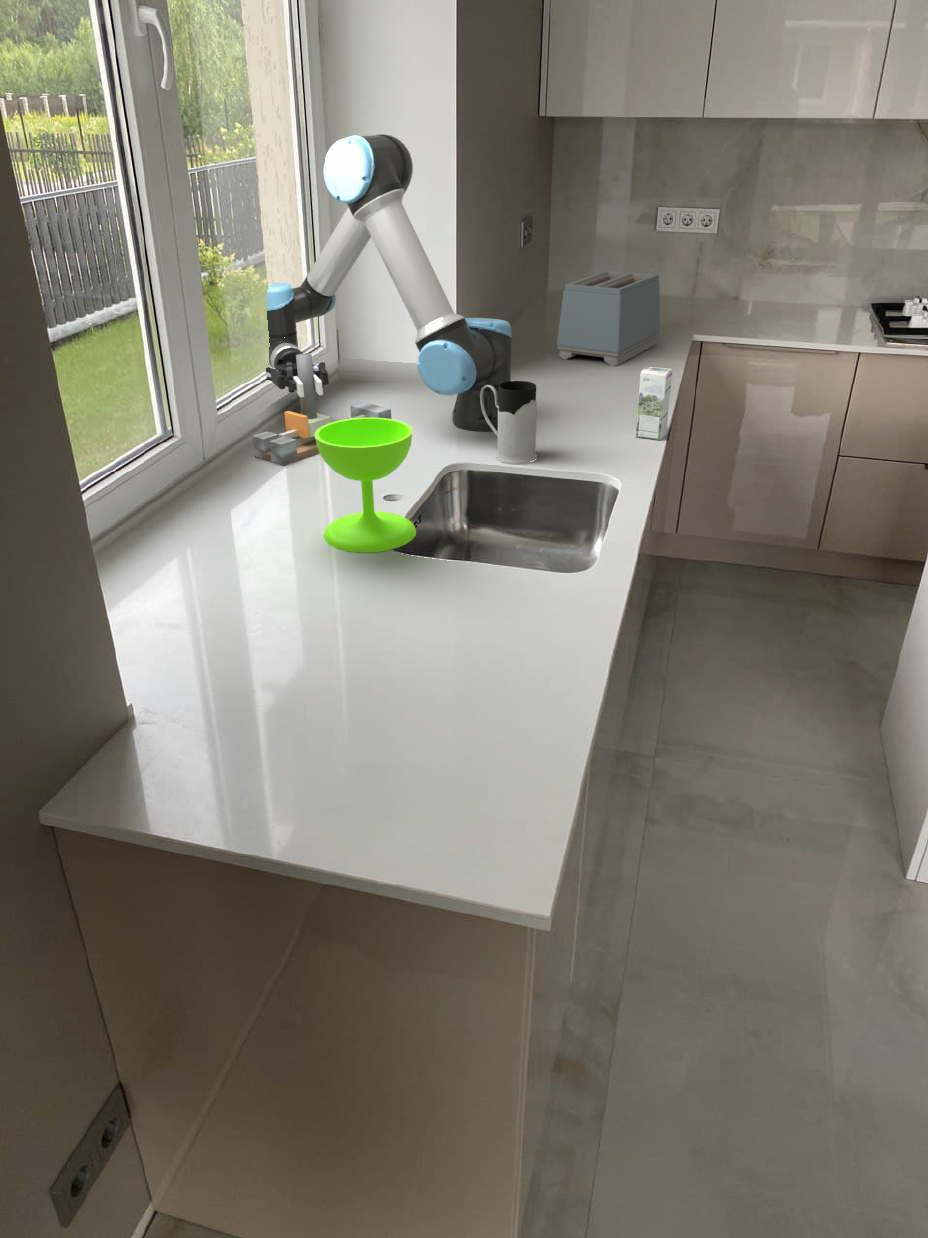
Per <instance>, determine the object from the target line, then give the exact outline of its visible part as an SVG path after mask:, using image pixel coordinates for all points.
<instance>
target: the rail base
mask: <svg viewBox="0 0 928 1238" xmlns="http://www.w3.org/2000/svg"><path fill="white" fill-rule="evenodd" d="M349 407H350V418H349V419H353V418H387V419H392V409H391V408H389V407H385V406H380V405H378V404H377V405H376V404H373V403H368V402H364V401H362V402H358V403H356V404H352V405H349ZM252 442H253V452H254V457H255V456H256V457H255V458H257V457H259V458H258V459H261V460H263V461H267V462H269V463H270V462H271V463H274V464H277V465H278V466H279V465H280V466H282V467H283V466H284V467H285V466H286V465H290V464H292V463H295V462H299V461H301V460H304V459H306V458H310V457H312V456H314V455H315V456H316V455H319V454H320V452H319V450H318V448H317V444H316V440H315V436H314V437H308V438H302V437H299V436H297V437H294V438H288V437H285V436H284V437H281V438H279V434H277V433H274V432H272V431H271V432H270V431H264V432H261V433H258V434H254V435H252Z"/></svg>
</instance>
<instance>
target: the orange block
mask: <svg viewBox="0 0 928 1238" xmlns="http://www.w3.org/2000/svg"><path fill="white" fill-rule="evenodd" d="M284 423H285V432H281V433H279V434H278V436H279V438H281V437H284V436H285V437H288V438H294V437H297V436H299V437H302V438H308V437H310V436H309V426H308V416H306V415H302V414H301V413H297V412H293V411H291V410H287V411H284Z"/></svg>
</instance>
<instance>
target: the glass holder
mask: <svg viewBox="0 0 928 1238" xmlns="http://www.w3.org/2000/svg"><path fill="white" fill-rule="evenodd" d="M486 387H489V388H491V389H492V391H493V392H494V395H495V405H496V407H497V408H498V409H499V410H498V430H496V429H495V428H494V426H493V425H492V424H491V422H490V420H489V419H488V416H487V414H486V411H485V408H484V402H483V391H484V389H485V388H486ZM480 403H481V408H482V412H483V415H484V417H485V420H486V421H487V423H488V425H489V426H490V427H491V429H492V430H493V431H492V432H493V433H494V435H495V436H496V437H497V450H496V451H497V452H496V454H495V457H496V458H495V460H496V459H497V460H496V461H497V462H499V461H500V463H502V464H505V465H506V464H508V465H525V464H524V463H528V462H530V461H533V460H535V459H536V458H537V457H538V454H537V451H536V450H537V449H536V448H537V447H536V446H537V445H536V443H537V439H536V438H537V411H538V410H537V405H538V404H537V385H536V383H533V382H531V381H526V380H525V381H524V380H511V381H509V382H504V383H501V384H500V385H499V404H498V394H497V391H496V389H495V388H494V387H493V386H491V385H486V386H484V387H483V388H482V389H481V392H480ZM537 459H538V458H537ZM528 464H529V463H528Z"/></svg>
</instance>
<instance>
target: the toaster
mask: <svg viewBox="0 0 928 1238" xmlns="http://www.w3.org/2000/svg"><path fill="white" fill-rule="evenodd" d="M659 276H660V274H657V273H645V272H635V271H634V272H632V271H620V270H610V269H607V270H604V271H600V272H598V273H594V274H592V275H589V276H586V277H583V278H580V279H577V280H575V281H572V282H568V283H565V285H564V290H563V294H562V300H561V307H560V308H561V309H560V315H559V316H560V317H559V324H558V331H557V332H558V333H557V339H556V340H557V341H556V345H557V350H558V351H559V353H558V354H559V355H558V357H559V356H560V357H564V358H570V359H572V358H574V356H575V357H576V355H577V356H579V355H581V356H588V357H590V356H591V357H598V358H603V361H604V362H605V363H606V364H607V365H608V366H610V365H614V366H613V367H617V366H619V365H621V364H623V363H625V362H627V361H628V359H629V360H631V359H632V358H634V357H636V356H638V355H640V354H641V353H643V352H646V351H647V350H649V349H651V348H653V347H655V346H656V345H657V339H658V338H659V336H660V331H661V323H660V322H661V319H660V317H661V315H660V313H661V310H660V309H661V308H660V306H661V305H660V304H661V303H660V302H661V301H660V300H661V298H660V297H661V296H660V293H661V292H660V291H661V290H660V287H661V286H660V280H659V279H660V277H659ZM654 345H655V346H654ZM645 350H646V351H645ZM578 354H579V355H578ZM637 354H638V355H637ZM560 357H559V358H560ZM571 357H572V358H571ZM630 358H631V359H630ZM626 360H627V361H626Z"/></svg>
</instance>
